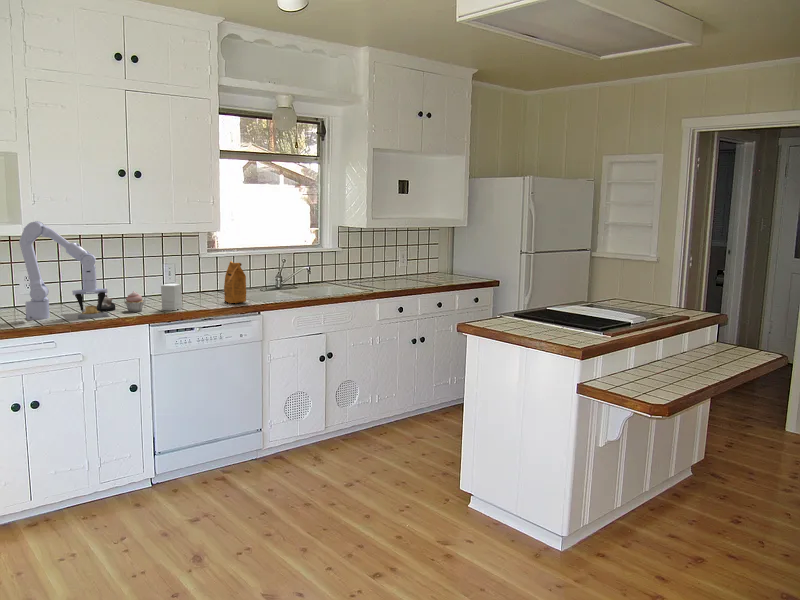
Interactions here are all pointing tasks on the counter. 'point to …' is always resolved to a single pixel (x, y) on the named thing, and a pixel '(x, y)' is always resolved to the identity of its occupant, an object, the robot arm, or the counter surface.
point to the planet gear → (90, 310)
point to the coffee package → (235, 284)
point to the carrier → (85, 315)
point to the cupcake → (134, 302)
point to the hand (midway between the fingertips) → (91, 309)
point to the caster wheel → (106, 305)
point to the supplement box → (171, 296)
